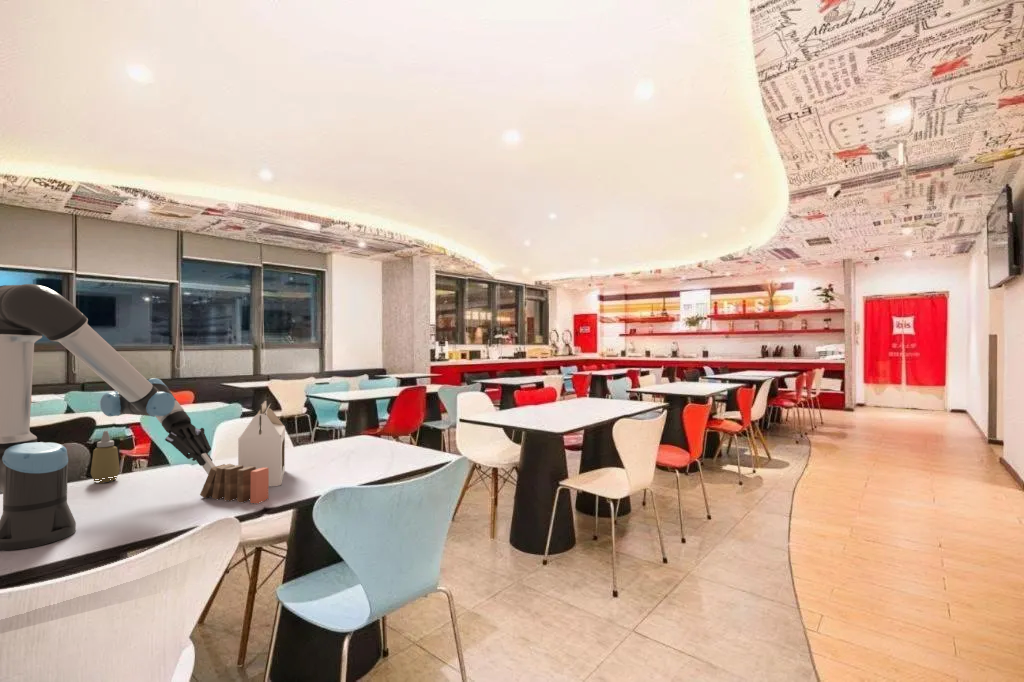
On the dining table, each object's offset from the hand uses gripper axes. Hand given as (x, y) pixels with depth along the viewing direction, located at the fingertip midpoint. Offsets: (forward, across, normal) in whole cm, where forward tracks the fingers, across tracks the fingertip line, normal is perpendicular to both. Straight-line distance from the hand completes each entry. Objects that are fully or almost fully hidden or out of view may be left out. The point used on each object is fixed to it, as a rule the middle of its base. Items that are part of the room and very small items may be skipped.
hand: (212, 471), depth 158 cm
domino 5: (+19, 0, +8) cm, 20 cm away
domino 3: (+12, 0, 0) cm, 12 cm away
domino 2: (+8, 0, -3) cm, 9 cm away
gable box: (+7, -21, -5) cm, 22 cm away
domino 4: (+15, 0, +4) cm, 16 cm away
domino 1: (+5, 0, -6) cm, 8 cm away
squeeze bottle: (-30, -2, -42) cm, 51 cm away
